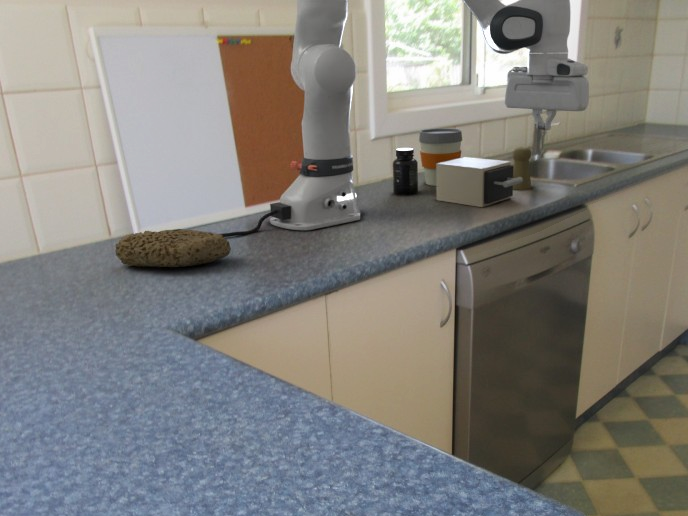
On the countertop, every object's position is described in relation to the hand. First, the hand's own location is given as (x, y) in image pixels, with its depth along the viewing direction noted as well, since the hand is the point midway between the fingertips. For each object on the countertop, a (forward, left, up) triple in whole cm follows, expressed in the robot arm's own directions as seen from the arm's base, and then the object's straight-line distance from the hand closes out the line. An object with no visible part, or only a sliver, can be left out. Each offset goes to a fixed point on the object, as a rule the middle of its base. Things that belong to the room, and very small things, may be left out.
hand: (543, 129), depth 155 cm
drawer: (0, +16, -18) cm, 24 cm away
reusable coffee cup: (+13, +41, -19) cm, 47 cm away
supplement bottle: (-4, +40, -19) cm, 44 cm away
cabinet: (0, +20, -19) cm, 28 cm away
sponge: (-79, +33, -19) cm, 87 cm away
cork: (+20, +18, -19) cm, 33 cm away
